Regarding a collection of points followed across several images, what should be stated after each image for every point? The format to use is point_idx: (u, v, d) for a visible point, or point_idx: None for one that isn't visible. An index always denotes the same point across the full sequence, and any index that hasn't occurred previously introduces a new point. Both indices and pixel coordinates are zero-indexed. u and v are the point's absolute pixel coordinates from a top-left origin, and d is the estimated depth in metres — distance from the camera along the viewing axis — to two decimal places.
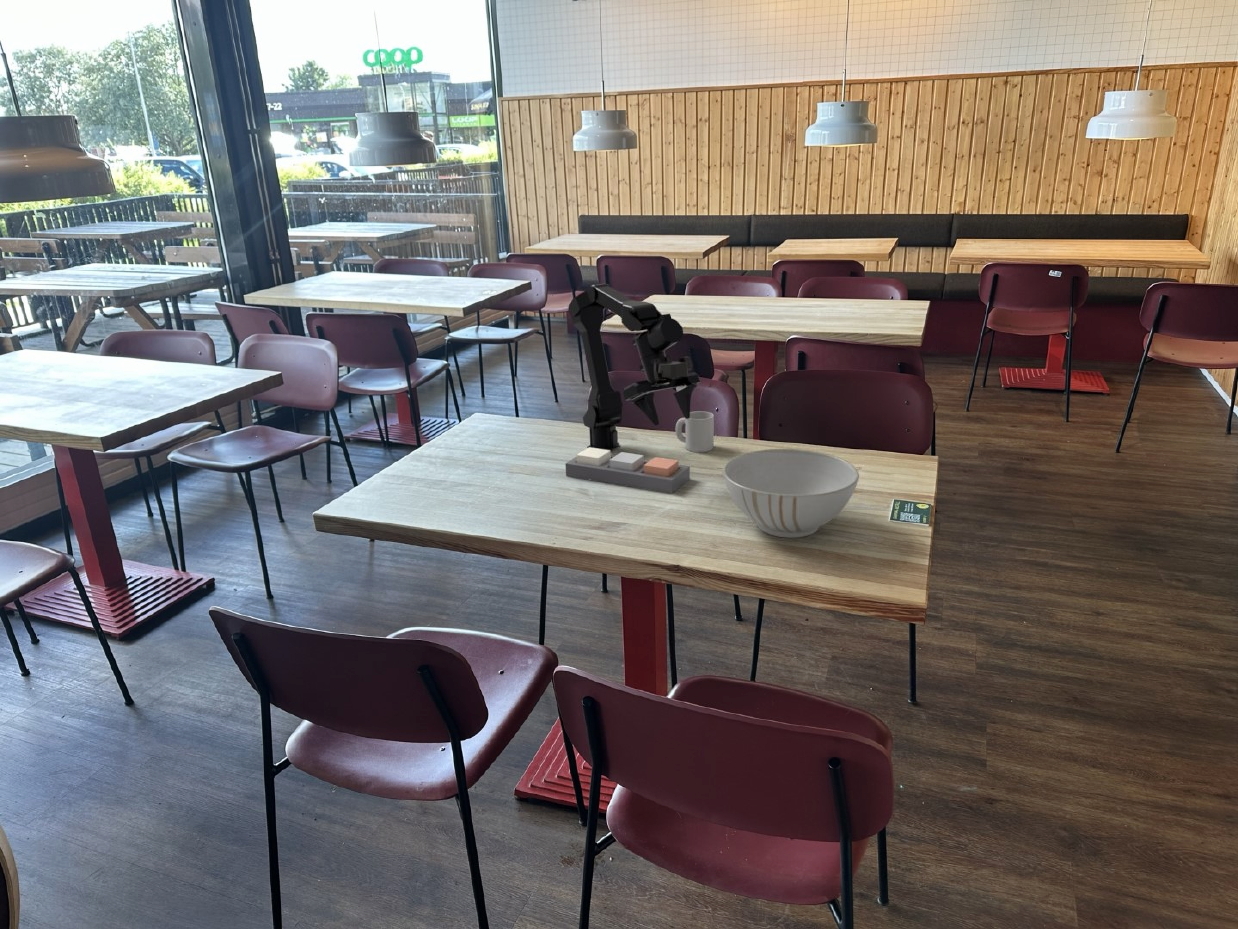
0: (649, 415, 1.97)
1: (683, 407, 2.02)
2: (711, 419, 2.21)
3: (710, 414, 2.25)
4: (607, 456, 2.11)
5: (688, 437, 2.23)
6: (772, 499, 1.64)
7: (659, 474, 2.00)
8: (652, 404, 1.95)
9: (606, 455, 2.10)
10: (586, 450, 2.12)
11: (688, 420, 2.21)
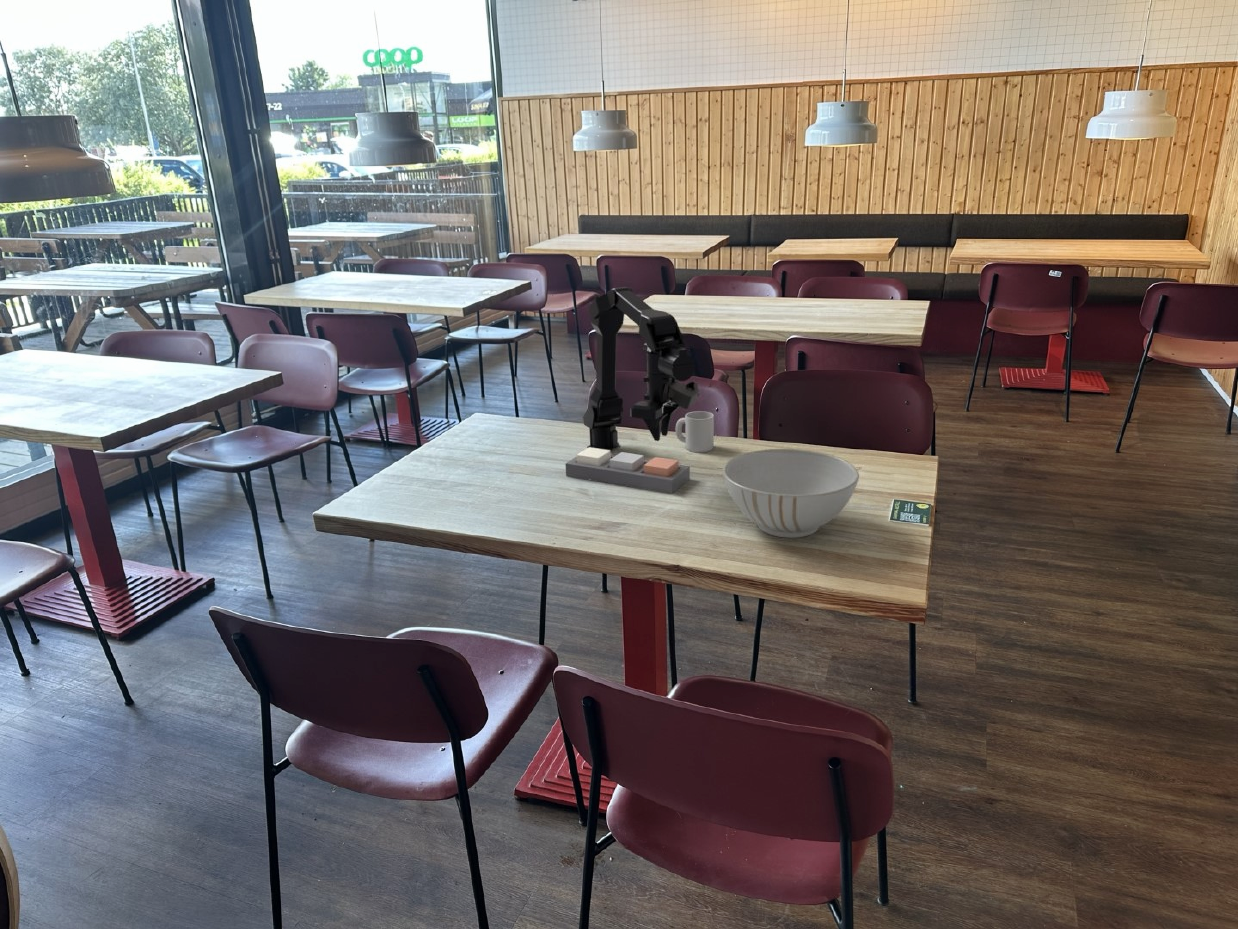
0: (652, 431, 1.97)
1: (663, 424, 2.01)
2: (711, 419, 2.21)
3: (710, 414, 2.25)
4: (607, 456, 2.11)
5: (688, 437, 2.23)
6: (772, 499, 1.64)
7: (659, 474, 2.00)
8: (660, 423, 1.96)
9: (606, 455, 2.10)
10: (586, 450, 2.12)
11: (688, 420, 2.21)
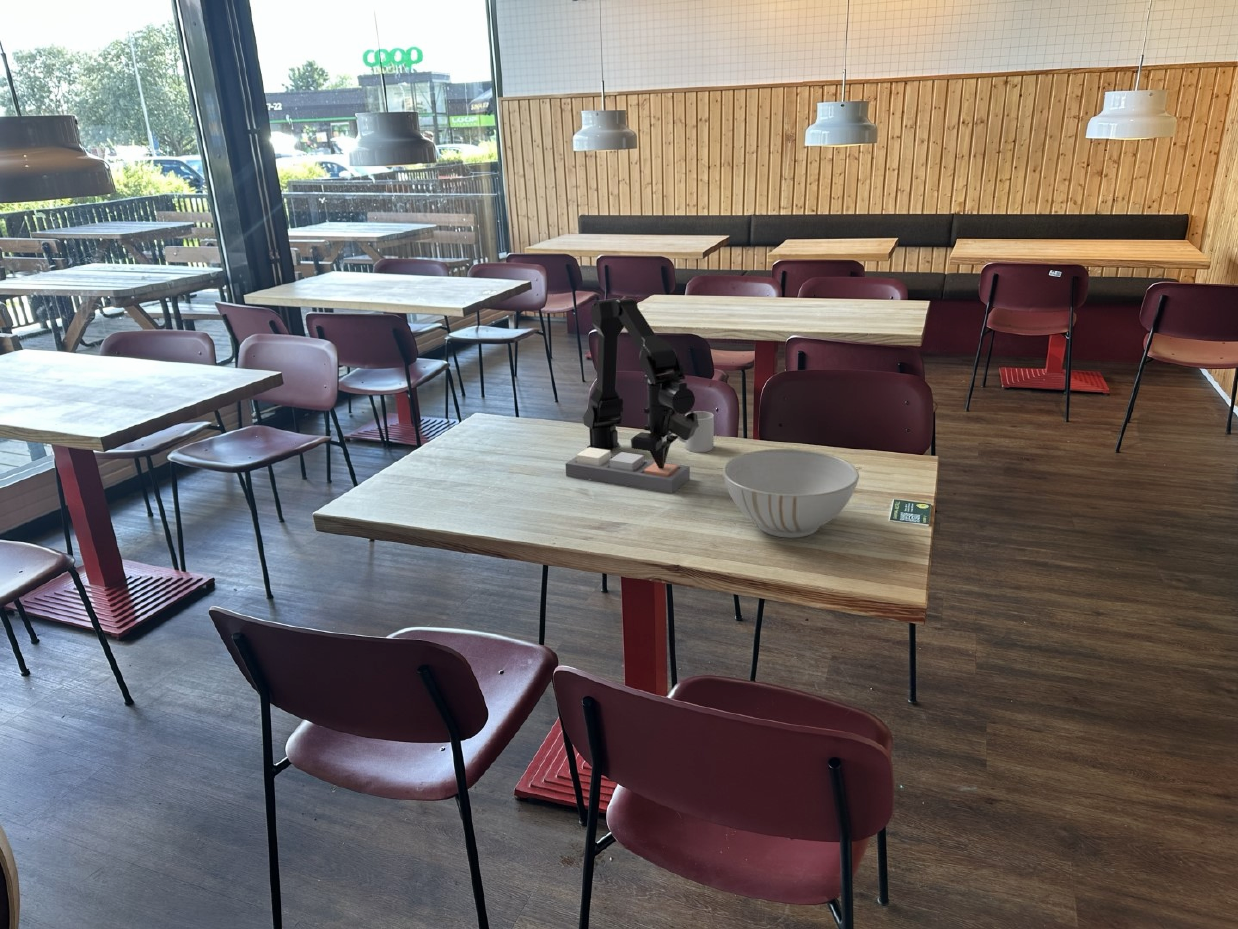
0: (656, 458, 2.01)
1: None
2: (711, 419, 2.21)
3: (710, 414, 2.25)
4: (607, 456, 2.11)
5: None
6: (771, 499, 1.64)
7: None
8: (664, 451, 2.00)
9: (606, 455, 2.10)
10: (586, 450, 2.12)
11: None
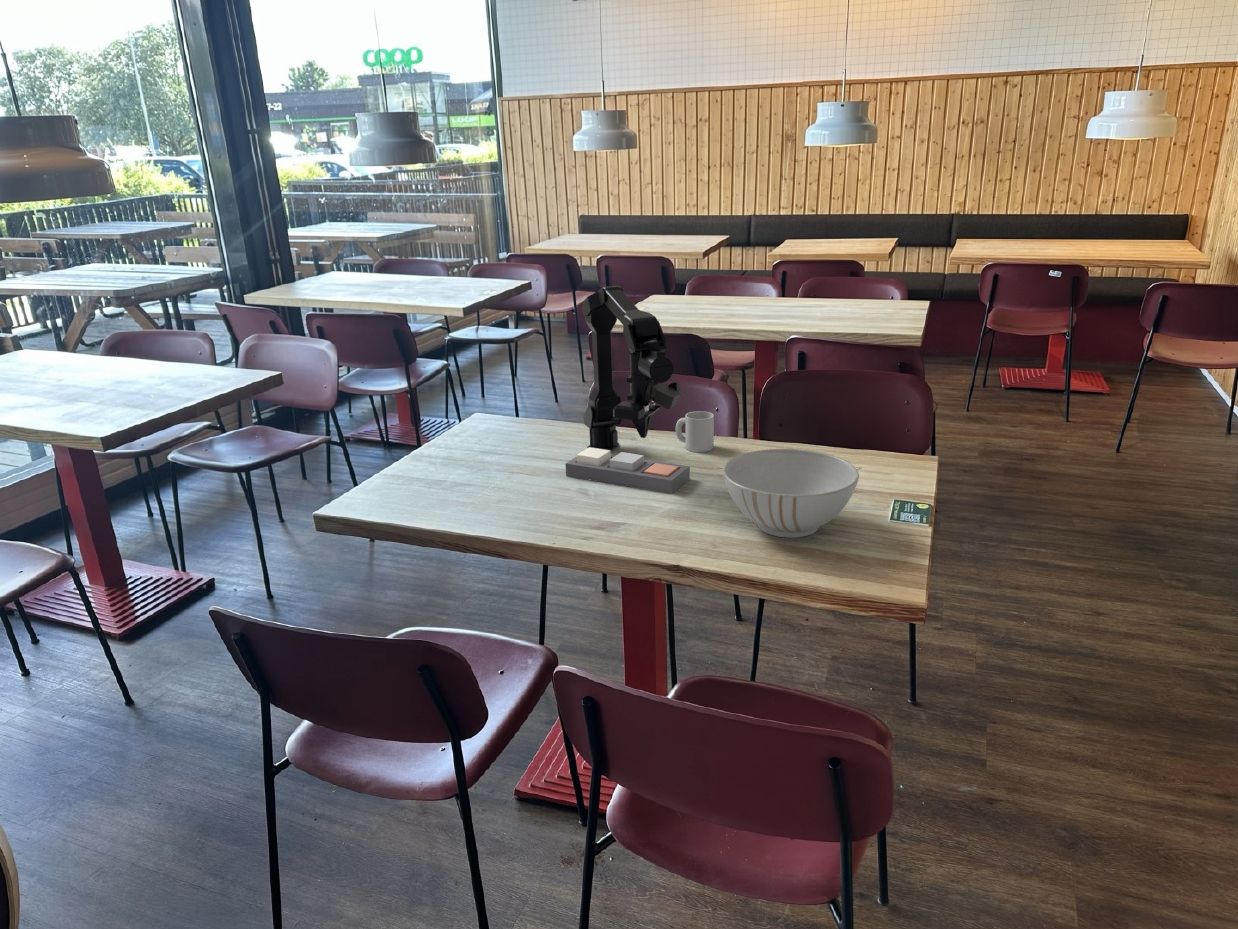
0: (638, 428, 2.01)
1: None
2: (711, 419, 2.21)
3: (710, 414, 2.25)
4: (607, 456, 2.11)
5: (688, 437, 2.23)
6: (772, 499, 1.64)
7: None
8: (646, 421, 2.00)
9: (606, 455, 2.10)
10: (586, 450, 2.12)
11: (688, 420, 2.21)
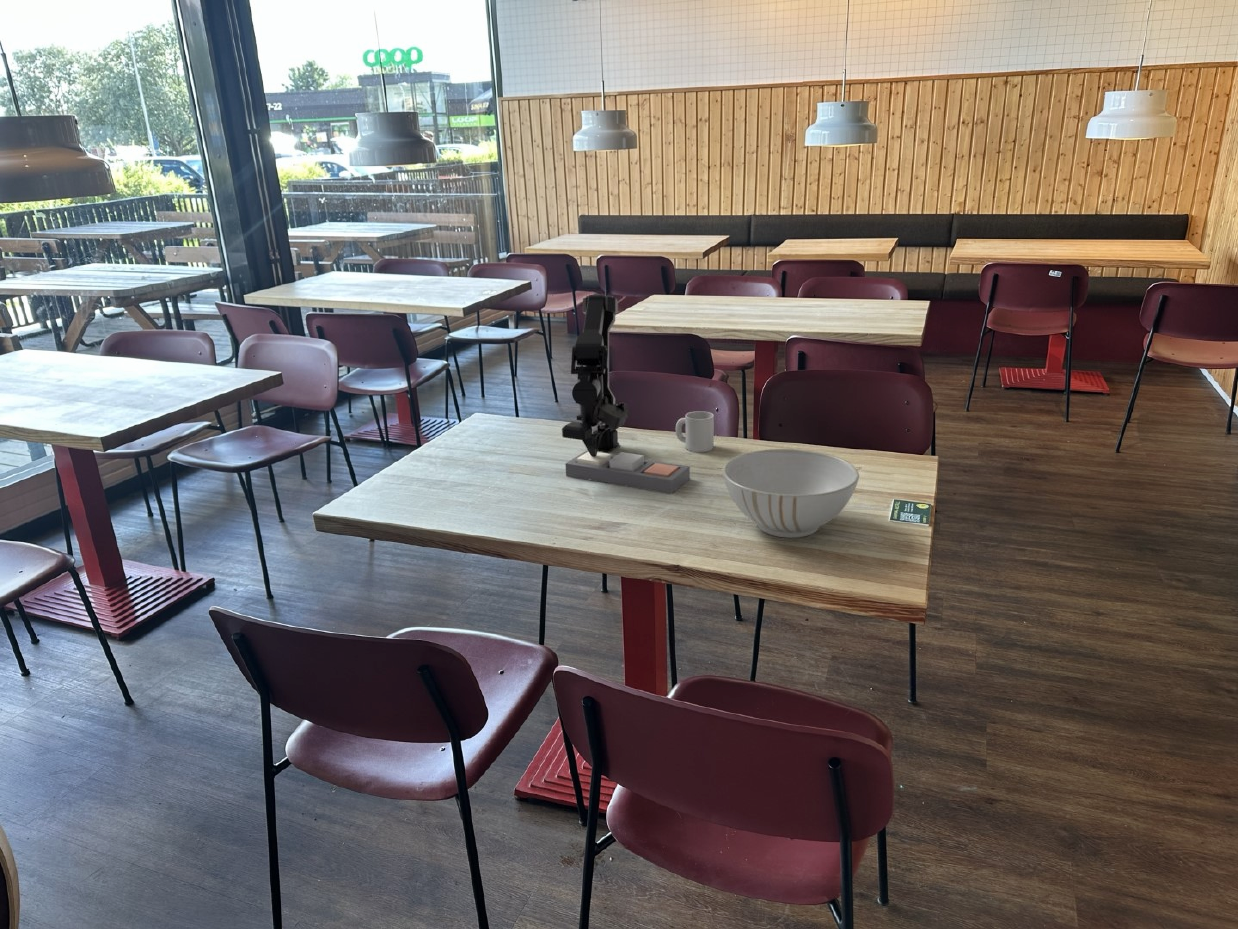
0: (588, 447, 2.09)
1: None
2: (711, 419, 2.21)
3: (710, 414, 2.25)
4: (608, 460, 2.11)
5: (688, 437, 2.23)
6: (772, 499, 1.64)
7: None
8: (595, 440, 2.08)
9: (606, 458, 2.10)
10: (586, 454, 2.12)
11: (688, 420, 2.21)
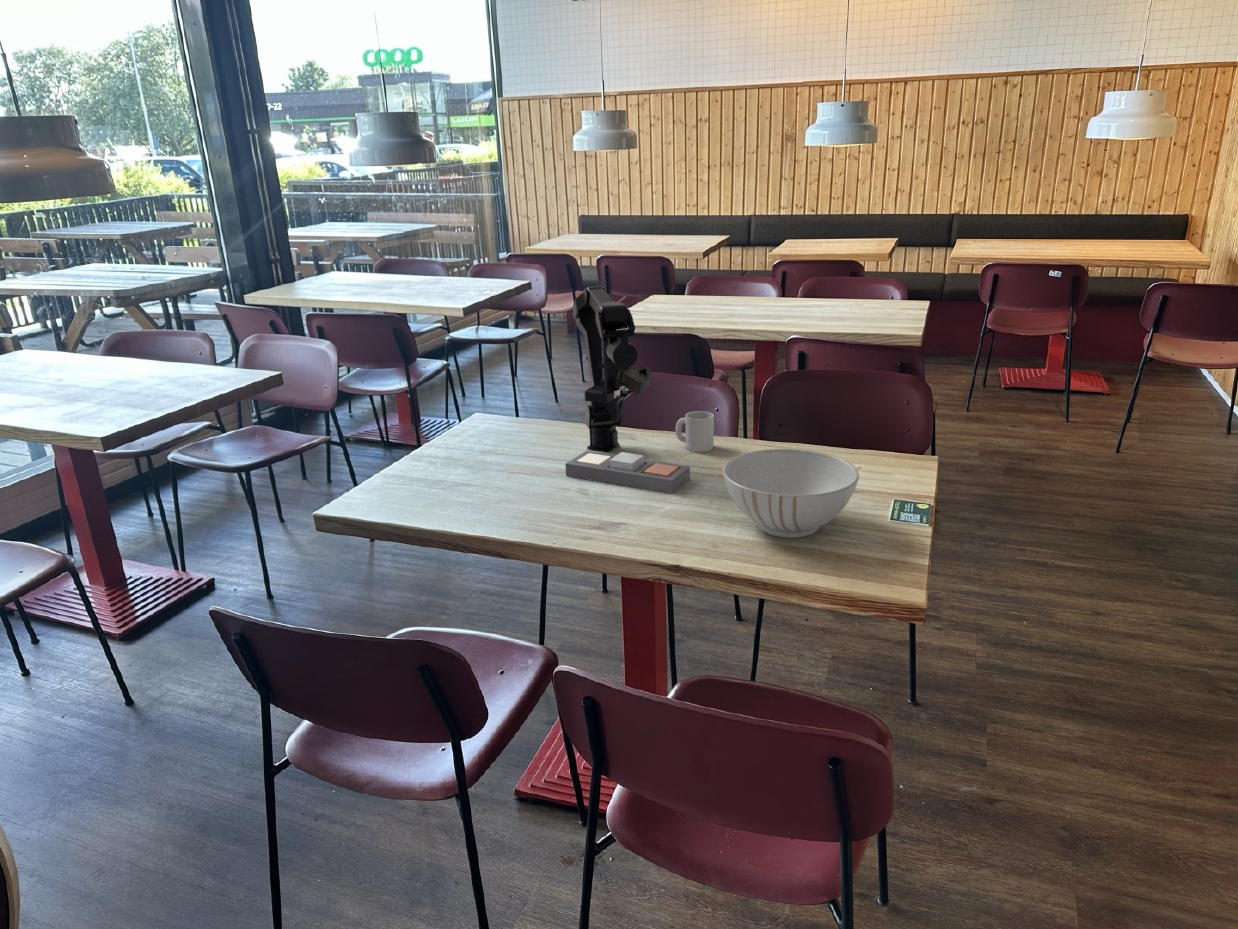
0: (611, 412, 2.10)
1: None
2: (711, 419, 2.21)
3: (710, 414, 2.25)
4: None
5: (688, 437, 2.23)
6: (772, 499, 1.64)
7: None
8: (618, 405, 2.08)
9: (606, 461, 2.10)
10: (586, 456, 2.12)
11: (688, 420, 2.21)
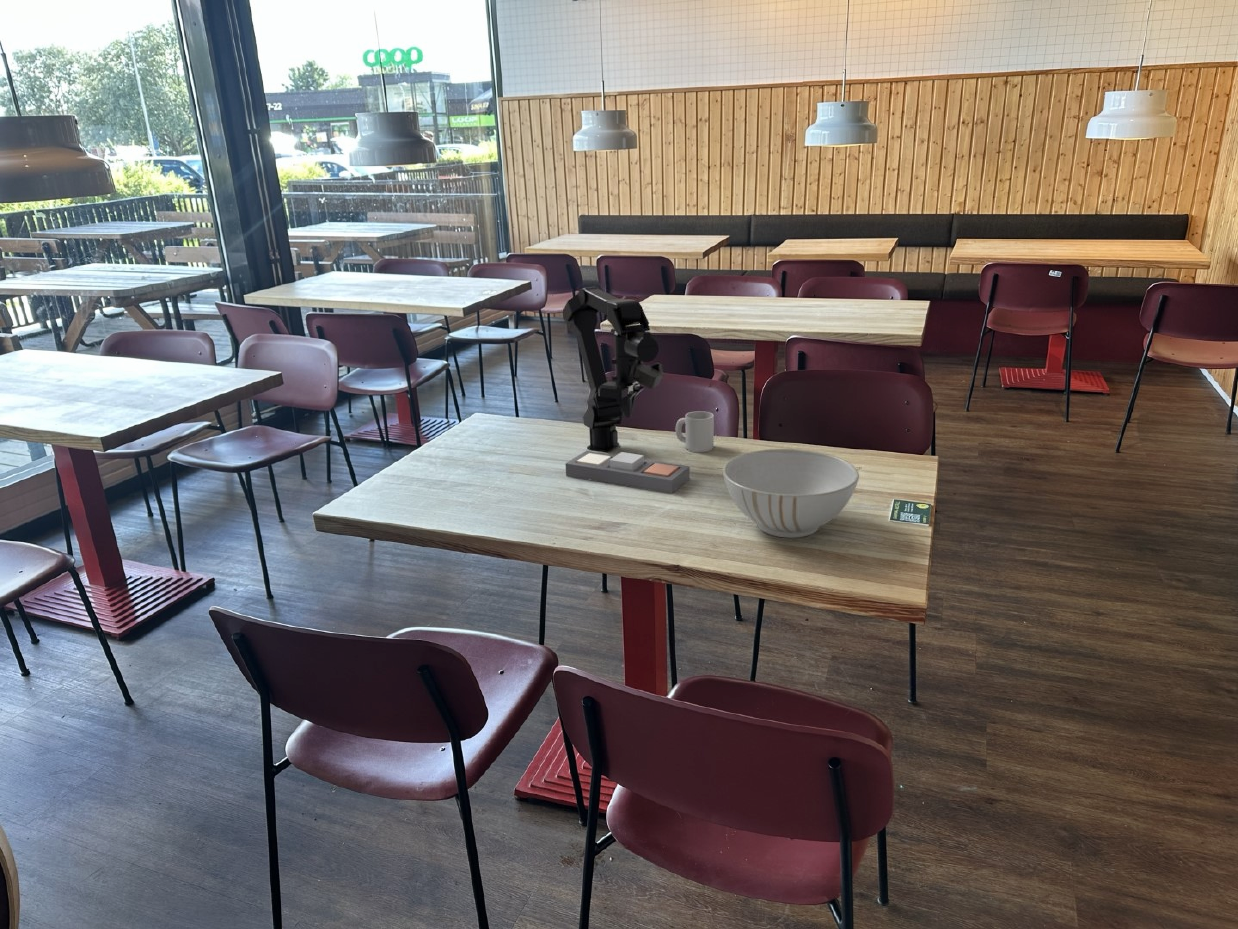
0: (623, 408, 2.12)
1: None
2: (711, 419, 2.21)
3: (710, 414, 2.25)
4: None
5: (688, 437, 2.23)
6: (772, 499, 1.64)
7: None
8: (631, 400, 2.10)
9: (606, 461, 2.10)
10: (586, 456, 2.12)
11: (688, 420, 2.21)
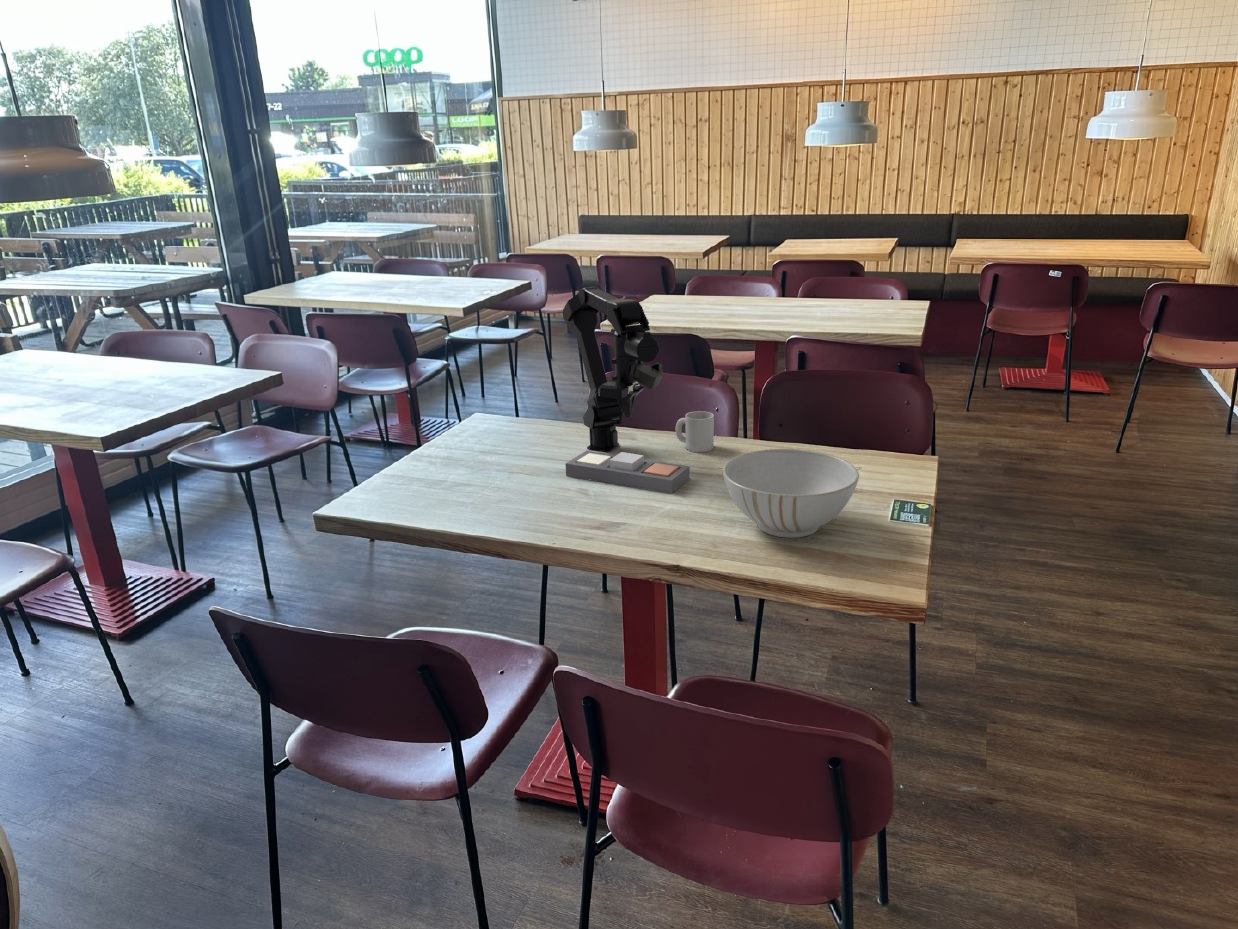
0: (623, 408, 2.12)
1: None
2: (711, 419, 2.21)
3: (710, 414, 2.25)
4: None
5: (688, 437, 2.23)
6: (772, 499, 1.64)
7: None
8: (631, 400, 2.10)
9: (606, 461, 2.10)
10: (586, 456, 2.12)
11: (688, 420, 2.21)
